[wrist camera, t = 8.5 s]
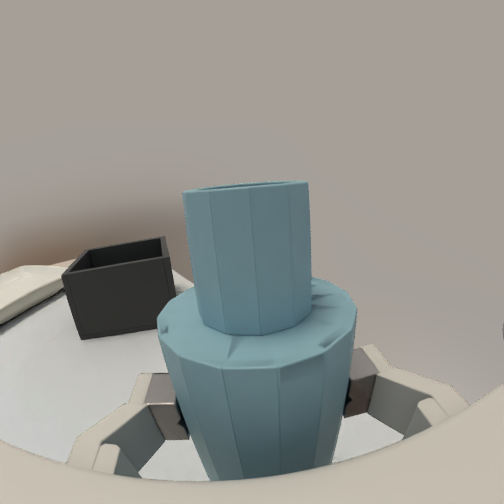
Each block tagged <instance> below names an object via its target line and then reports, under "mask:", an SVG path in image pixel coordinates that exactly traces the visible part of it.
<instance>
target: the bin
mask: <svg viewBox="0 0 504 504" xmlns="http://www.w3.org/2000/svg"><path fill="white" fill-rule="evenodd" d="M61 278H62V282H63V285H64V289H65V293H66V296H67V299H68V303H69V306H70V309H71V312H72V316H73V319H74V322H75V324H76V327H77V330H78V333H79V335H80V338H81V339H89V338H97V337H104V336H111V335H117V334H124V333H130V332H137V331H143V330H149V329H155V328H158V327H157V317H158V316H159V314H160V313H161V311H162V310H163V309H164V307H165V306H166V304H167V303H168V302H169V301H170V300H172V299H173V298H175V297H176V291H175V286H174V280H173V274H172V268H171V262H170V257H169V252H168V248H167V243H166V239H165V236H164V237H157V238H151V239H145V240H139V241H133V242H127V243H121V244H115V245H110V246H104V247H99V248H93V249H87V250H85V251H84V252H83V253H82V254H81V255H80V256H79V257H78V258H77V259H76V260H75V261H74V262H73V263H72V264H71V265H70V266H69V267H68V268H67V269H66V270H65V272H64V273H63V274H62V275H61Z"/></svg>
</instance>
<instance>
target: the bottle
mask: <svg viewBox="0 0 504 504" xmlns="http://www.w3.org/2000/svg"><path fill="white" fill-rule="evenodd" d="M182 194H183V203H184V212H185V220H186V228H187V237H188V245H189V252H190V259H191V265H192V273H193V278H194V286H195V287H192V288H190V289H188V290H186V291H184V292H183V293H181V294H180V295H178V296H176V297H175V298H173V299H172V300H170V301H169V302H168V303H167V304H166V306H165V307H164V309H163V310H162V311H161V313H160V314H159V316H158V317H157V327H158V338H159V341H160V345H161V348H162V352H163V355H164V359H165V362H166V366H167V369H168V372H169V375H170V379H171V382H172V385H173V388H174V391H175V394H176V397H177V400H178V403H179V405H180V408H181V411H182V414H183V417H184V419H185V422H186V425H187V427H188V430H189V432H190V435H191V437H192V440H193V442H194V445H195V447H196V450H197V452H198V454H199V457H200V459H201V461H202V464H203V466H204V468H205V470H206V473H207V475H208V477H209V479H210V481H227V480H242V479H252V478H261V477H269V476H276V475H282V474H288V473H294V472H299V471H304V470H309V469H313V468H318V467H322V466H326V465H330V464H331V463H332V459H333V455H334V451H335V447H336V443H337V439H338V434H339V430H340V425H341V420H342V415H343V410H344V405H345V399H346V394H347V388H348V382H349V375H350V369H351V362H352V354H353V346H354V338H355V328H356V318H357V307H356V306H355V304H354V302H353V301H352V299H351V298H350V296H349V294H348V293H347V292H346V291H345V290H343V289H341V288H339V287H337V286H336V285H334V284H332V283H330V282H329V281H326V280H322V279H318V278H314V277H311V236H310V210H309V190H308V182H307V181H271V182H256V183H243V184H232V185H222V186H214V187H206V188H198V189H192V190H187V191H183V193H182Z"/></svg>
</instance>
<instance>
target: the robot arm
mask: <svg viewBox="0 0 504 504" xmlns="http://www.w3.org/2000/svg"><path fill="white" fill-rule="evenodd" d="M366 412H367V413H368V414H369V415H371V416H372V417H374V418H376V419H377V420H379V421H381V422H382V423H384V424H386V425H387V426H389V427H391V428H393V429H394V430H396V431H398V432H399V433H401V434H403V435H404V437H403V439H402V440H401V441H399V442H396V443H394V444H391V445H389V446H386V447H384V448H381V449H378V450H376V451H373V452H370V453H367V454H364V455H361V456H358V457H355V458H351V459H348V460H345V461H341V462H338V463H334V464H330V465H326V466H322V467H318V468H313V469H309V470H304V471H299V472H294V473H288V474H282V475H276V476H269V477H261V478H252V479H242V480H227V481H168V480H154V479H144V478H142V477H141V476H140V475H139V474H138V472H139V471H140V469H141V468H142V467H143V466H144V465H145V464H146V463H147V462H148V460H149V459H150V458H151V457H152V456H153V455H154V454H155V452H156V451H157V450H158V449H159V448H160V447H161V446H162V444H163V443H164V442H165V440H189V437H190V432H189V430H188V427H187V425H186V422H185V419H184V417H183V414H182V411H181V408H180V405H179V403H178V400H177V397H176V394H175V391H174V388H173V385H172V382H171V379H170V375H169V373H141V374H139V375H138V378H137V380H136V383H135V386H134V389H133V391H132V394H131V397H130V400H129V403H128V404H123V405H122V406H121V407H119V408H118V409H116V410H115V411H114V412H112V413H111V414H110V415H108V416H107V417H105V418H104V419H103V420H101V421H100V422H98V423H97V424H95V425H94V426H93V427H91V428H90V429H88V430H87V431H86V432H84V433H83V434H81V435H80V436H78V437H77V438H76V441H75V443H74V445H73V448H72V450H71V452H70V455H69V457H68V460H67V462H66V464H65V463H62V462H58V461H55V460H52V459H48V458H45V457H42V456H40V455H37V454H34V453H31V452H28V451H26V450H23V449H21V448H18V447H16V446H13V445H11V444H9V443H6V442H4V441H2V440H0V504H504V383H502V384H501V385H500V386H498V387H497V388H496V389H494V390H493V391H491V392H490V393H488V394H487V395H485V396H484V397H482V398H481V399H479V400H478V401H476V402H475V403H473V404H471V405H469V404H468V402H467V401H466V400H465V399H464V398H463V397H462V396H461V395H460V394H459V393H458V392H457V391H456V390H455V389H454V388H453V386H451V385H448V384H444V383H441V382H438V381H435V380H432V379H429V378H426V377H423V376H420V375H417V374H414V373H411V372H408V371H405V370H403V369H400V368H395V369H394V368H393V367H392V366H391V365H390V364H389V362H388V361H387V360H386V359H385V358H384V356H383V355H382V354H381V353H380V352H379V350H378V349H377V348H376V347H375V346H374V345H372V344H370V345H366V346H363V347H359V348H357V349H353V354H352V362H351V369H350V375H349V382H348V388H347V394H346V399H345V405H344V410H343V416H344V418H347V417H351V416H355V415H359V414H362V413H366Z"/></svg>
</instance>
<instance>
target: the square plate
mask: <svg viewBox="0 0 504 504" xmlns="http://www.w3.org/2000/svg"><path fill="white" fill-rule="evenodd" d="M66 269H67V267H56V266H38V265H36V266H35V265H34V266H21V267H18V268H16V269H13V270H11V271H8V272H5V273H3V274H0V324H3V323H5V322H7V321H9V320H10V319H12V318H14V317H15V316H17V315H19V314H20V313H22V312H24V311H26V310H27V309H29V308H31V307H32V306H34V305H36V304H38V303H40V302H41V301H43V300H45V299H47V298H49V297H51V296H53V295H54V294H56V293H57V292H58V291H59V290H60V289H62V288H63V287H64V285H63V282H62V278H61V275H62V274H63V273H64V272H65V270H66Z"/></svg>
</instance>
